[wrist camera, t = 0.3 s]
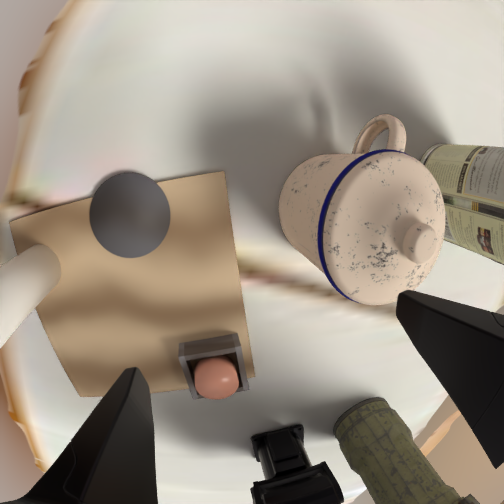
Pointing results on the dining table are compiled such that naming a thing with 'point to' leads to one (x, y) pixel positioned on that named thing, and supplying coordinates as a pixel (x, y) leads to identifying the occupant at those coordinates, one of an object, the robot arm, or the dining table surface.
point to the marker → (25, 286)
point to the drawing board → (142, 282)
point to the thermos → (390, 457)
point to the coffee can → (471, 195)
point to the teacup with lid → (366, 216)
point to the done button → (216, 377)
